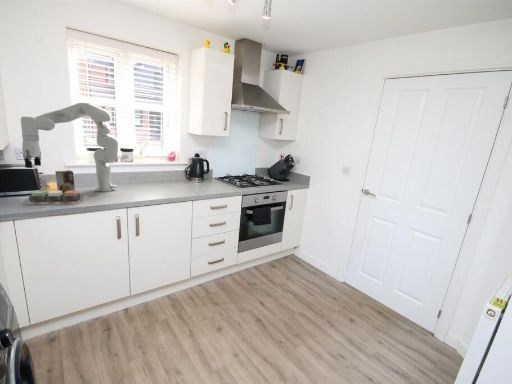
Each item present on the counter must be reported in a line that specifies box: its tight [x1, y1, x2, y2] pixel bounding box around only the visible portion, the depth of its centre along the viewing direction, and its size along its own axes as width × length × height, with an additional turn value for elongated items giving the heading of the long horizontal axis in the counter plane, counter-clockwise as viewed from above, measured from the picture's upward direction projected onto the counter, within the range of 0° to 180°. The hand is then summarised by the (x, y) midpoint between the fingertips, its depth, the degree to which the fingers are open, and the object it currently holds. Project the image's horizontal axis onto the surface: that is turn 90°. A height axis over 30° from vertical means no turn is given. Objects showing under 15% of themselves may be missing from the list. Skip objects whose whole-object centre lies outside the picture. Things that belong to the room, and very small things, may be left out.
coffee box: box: [55, 170, 76, 193], centre depth 185 cm, size 9×6×16 cm
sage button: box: [30, 190, 48, 196], centre depth 164 cm, size 6×6×4 cm
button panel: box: [25, 192, 84, 205], centre depth 168 cm, size 27×11×4 cm, turn 110°
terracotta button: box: [64, 190, 79, 196], centre depth 170 cm, size 6×6×4 cm
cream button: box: [47, 190, 63, 196], centre depth 167 cm, size 6×6×4 cm
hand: (33, 166), depth 160 cm, fingers open, 9 cm apart
